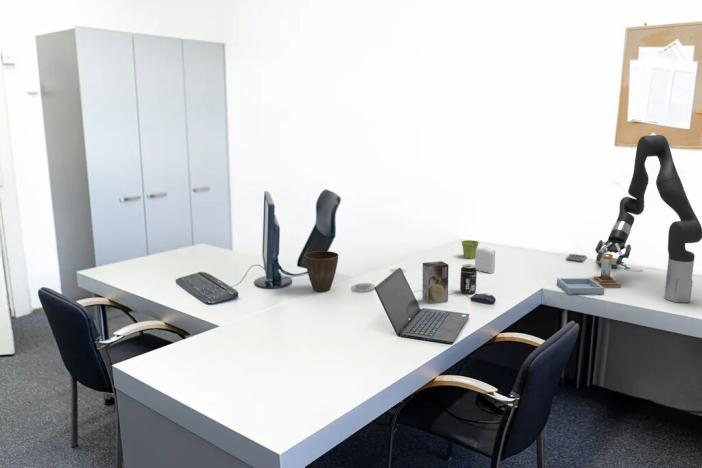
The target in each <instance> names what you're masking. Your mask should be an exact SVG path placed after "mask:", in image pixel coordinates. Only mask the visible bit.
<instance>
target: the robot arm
mask: <svg viewBox="0 0 702 468" xmlns="http://www.w3.org/2000/svg"><path fill="white" fill-rule="evenodd" d="M635 149H636V151H635V157H634V167H633V174H632V177H631V180H630V184H629V188H628V190H627V191H628V192H627V193H628V194H629V195H630V196H631V197H629V196H624V197H622V199H620V202H619V209H618V211H619V213H618V217H617V219H616V221H615V224H614V225H613V227H612V229H611V231H610V234H609V235H608V239H607V240H606V241H603V240H602V239H600V240H599V241H598V242H597V245H596V247H595V249H594V250H595V252H596V253H597V255H596V257H595V258H596V260H597V262H601V261H602V254H608V253H615V254H617V253H618V257H617V259H616V262H615V264H616V265H617V266H619V265H621V264H622V261H623V259H628V258H629V257H630V254H631V251H632V246H631V244H626V243H627V240H628V239H629V236H630V234H631V230H632V227H633V225H634V222H635V217H634V215H636V216H639V215H641V214H643V212H644V209H645V195H646V191H647V189H648V185H649V174H648V172H647V169H646V161H647V158H648V157H649V158H650V157H657V158H658V162H659V166H660V167H659V170H658V174H657V177H656V181H655V185H656V189H657V192H658V194H659V197H660V199H661V200H662V201H663V202H664V203H665V204H666V205H667V206H668V207H670V209H671V210H673V211H674V212H675V213H676V214H677V216H678V218H679V220H676V221H673V222H672V223H671V224H670V226H669V229H668V233H667V234H668V235H667V237H668V238H667V252H668V258H667V259H668V261H667V268H666V277H665V286H664V296H663V297H664V299H666V300H667V301H670V302H673V303H691V298H692V288H693V282H694V281H693V273H694V264H695V259H696V258H695V256H696V255H695V253H693V252H691V251H689V250H686V244H696V243H699V242H701V240H702V225H701V222H700V221H699V219H698V217H697V215H696V212H695V211H694V209H693V208H692V206H691V205H692V204H691V203H690V201H689V198H688V197H687V194H686V191H685V188H684V184H683V182H682V180H681V178H680V176H679V173H678V171H677V167H676V165H675V162H674V158H673V155H672V151H671V148H670V144H669V141H668V139H667V137H666V136H665V135H663V134H654V135H653V134H652V135H651V134H650V135H643V136H640V138H639V139H638V142H637V145H636V148H635ZM624 249H625V252H624V253H623V252H622V250H624Z"/></svg>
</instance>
